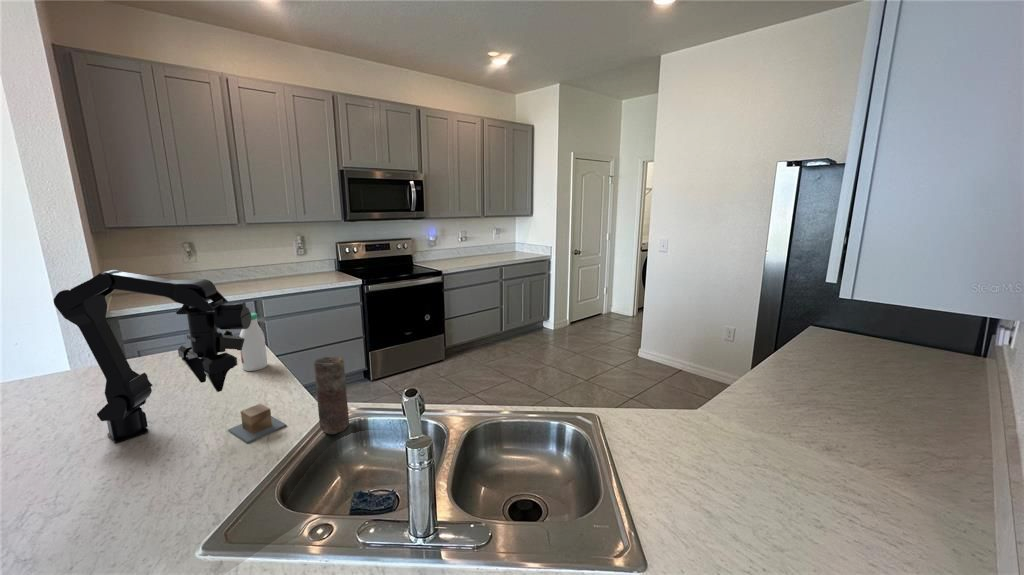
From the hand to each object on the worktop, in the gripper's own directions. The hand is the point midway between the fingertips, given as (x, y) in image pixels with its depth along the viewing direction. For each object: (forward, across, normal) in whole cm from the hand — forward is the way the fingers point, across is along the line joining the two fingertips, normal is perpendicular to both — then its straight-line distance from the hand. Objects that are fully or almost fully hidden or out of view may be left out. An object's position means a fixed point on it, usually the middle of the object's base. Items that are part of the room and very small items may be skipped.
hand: (211, 386), depth 107 cm
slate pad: (+12, -9, -6) cm, 16 cm away
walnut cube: (+12, -9, -6) cm, 16 cm away
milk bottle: (+12, +33, -26) cm, 44 cm away
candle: (+12, -25, -18) cm, 33 cm away
